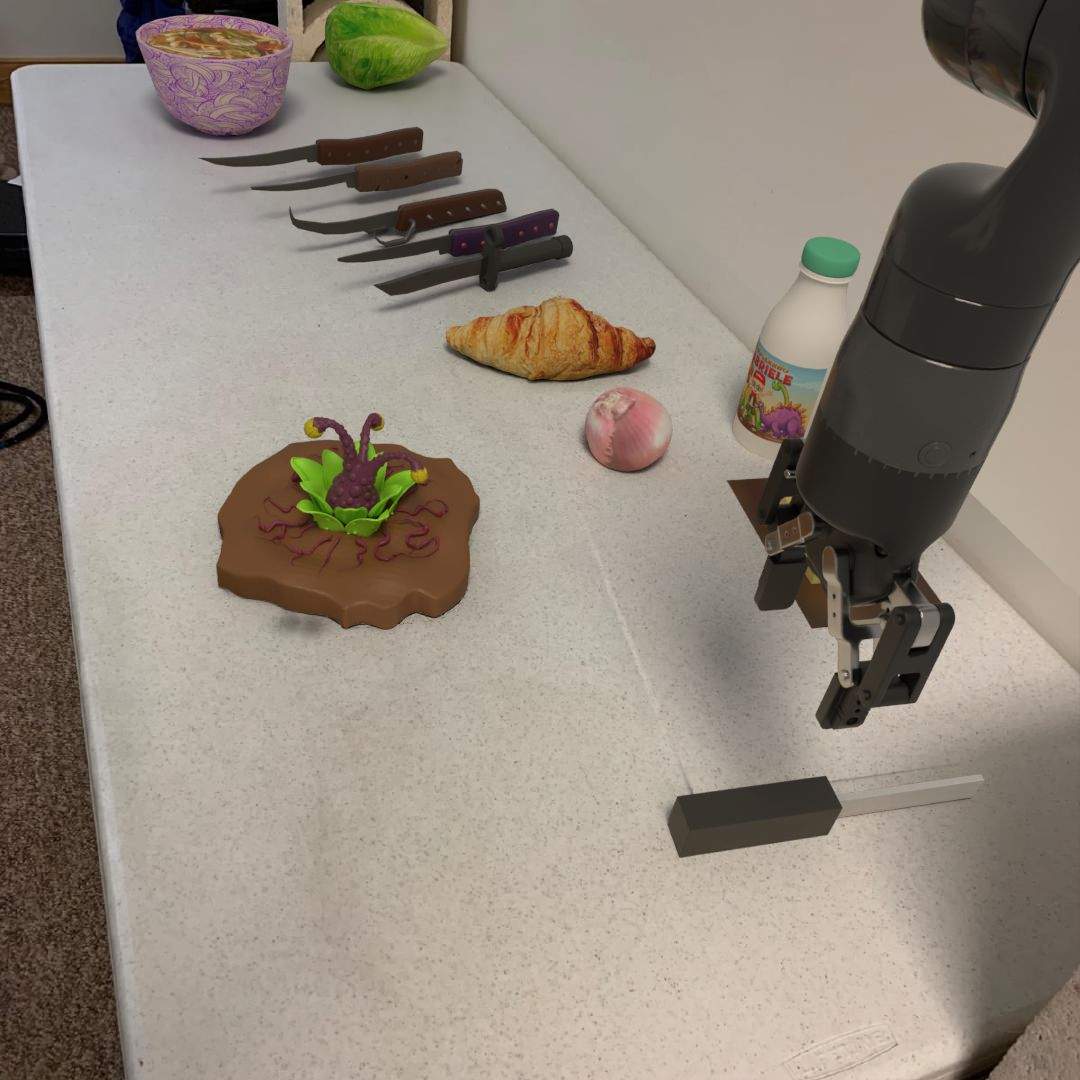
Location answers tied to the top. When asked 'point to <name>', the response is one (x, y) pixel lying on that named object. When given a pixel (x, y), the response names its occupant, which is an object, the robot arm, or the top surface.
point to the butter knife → (791, 810)
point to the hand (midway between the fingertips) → (801, 660)
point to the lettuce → (380, 43)
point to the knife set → (419, 210)
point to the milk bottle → (797, 350)
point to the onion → (627, 429)
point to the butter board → (809, 594)
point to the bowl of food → (217, 70)
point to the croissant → (550, 342)
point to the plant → (349, 529)
